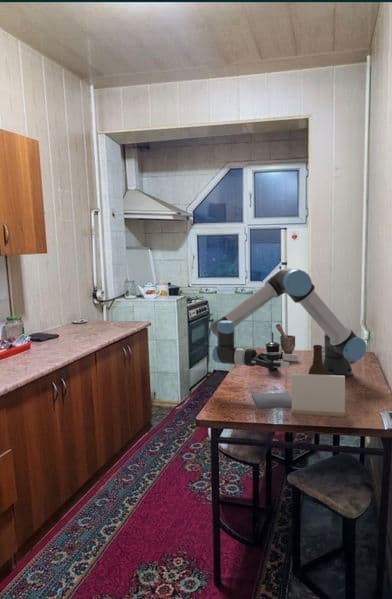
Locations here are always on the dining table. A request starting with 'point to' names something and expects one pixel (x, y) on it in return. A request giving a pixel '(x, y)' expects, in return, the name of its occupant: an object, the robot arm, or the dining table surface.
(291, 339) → the mortar and pestle
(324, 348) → the dish
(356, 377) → the dining table surface
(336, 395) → the screen
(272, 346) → the drinking cup
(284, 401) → the mat
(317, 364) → the beer bottle
